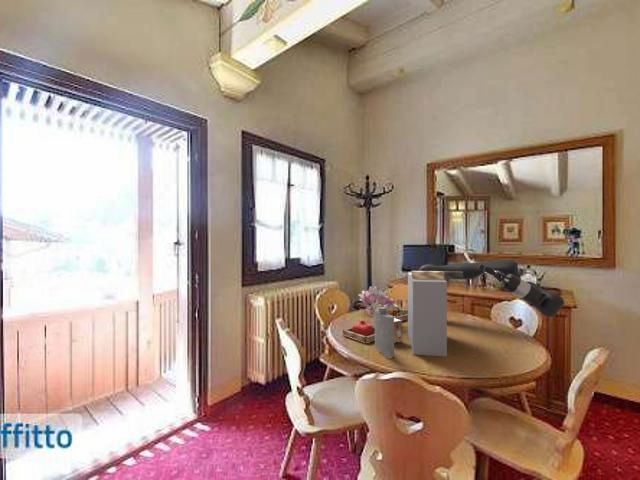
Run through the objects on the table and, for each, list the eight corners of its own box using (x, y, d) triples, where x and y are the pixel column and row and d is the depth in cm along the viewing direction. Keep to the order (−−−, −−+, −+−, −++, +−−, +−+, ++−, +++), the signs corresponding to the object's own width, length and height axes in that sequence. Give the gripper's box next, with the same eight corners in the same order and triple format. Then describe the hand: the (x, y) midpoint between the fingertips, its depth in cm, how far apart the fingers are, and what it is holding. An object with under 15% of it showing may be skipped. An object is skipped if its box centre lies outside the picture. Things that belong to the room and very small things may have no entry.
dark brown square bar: (461, 278, 152) (461, 271, 152) (463, 279, 149) (463, 272, 149) (411, 277, 156) (411, 270, 156) (411, 278, 153) (411, 271, 153)
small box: (389, 344, 159) (389, 322, 159) (381, 341, 164) (381, 319, 164) (402, 341, 163) (402, 320, 163) (394, 338, 168) (394, 317, 168)
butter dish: (346, 336, 173) (346, 319, 173) (361, 331, 181) (361, 315, 180) (363, 341, 164) (363, 324, 164) (378, 336, 172) (378, 320, 172)
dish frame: (341, 335, 173) (341, 329, 173) (363, 329, 184) (363, 323, 184) (366, 344, 160) (366, 338, 160) (388, 336, 171) (388, 331, 170)
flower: (412, 326, 183) (400, 282, 193) (382, 329, 170) (371, 282, 180) (387, 334, 198) (376, 293, 207) (358, 337, 185) (348, 293, 195)
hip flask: (395, 358, 143) (395, 311, 142) (386, 359, 142) (386, 311, 141) (380, 345, 158) (379, 303, 158) (372, 346, 157) (371, 303, 157)
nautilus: (407, 322, 199) (382, 324, 198) (396, 311, 220) (373, 313, 219) (407, 309, 198) (382, 311, 197) (395, 299, 220) (373, 301, 218)
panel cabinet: (435, 333, 175) (435, 271, 174) (446, 356, 144) (447, 281, 143) (407, 332, 178) (407, 271, 177) (413, 354, 147) (412, 280, 146)
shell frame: (363, 314, 215) (363, 309, 215) (383, 309, 228) (383, 305, 228) (397, 323, 195) (397, 317, 195) (417, 316, 208) (417, 312, 208)
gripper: (514, 276, 157) (481, 258, 159) (527, 281, 143) (491, 261, 145) (505, 290, 157) (473, 272, 160) (517, 296, 143) (481, 276, 146)
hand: (481, 267), depth 152 cm, fingers open, 8 cm apart
